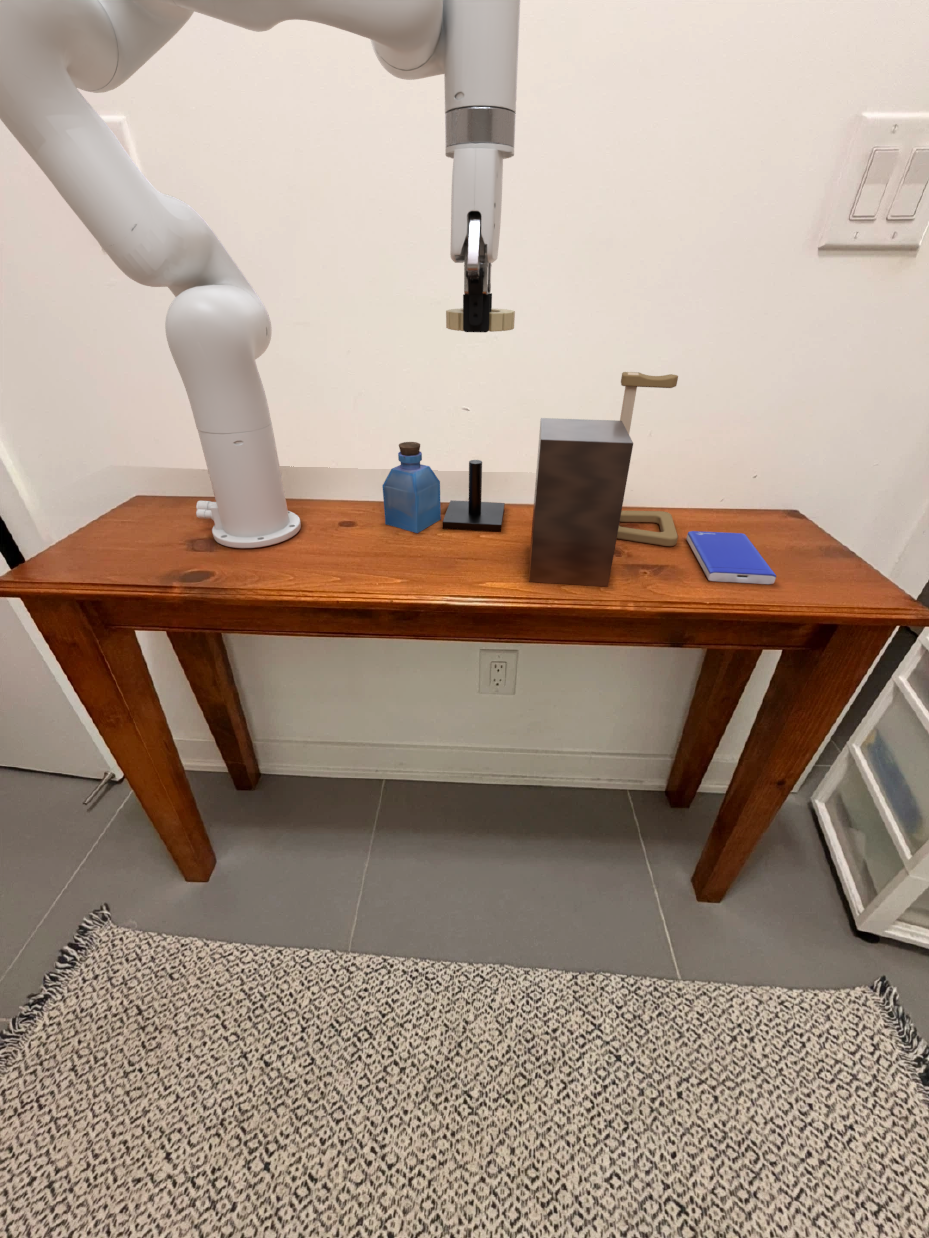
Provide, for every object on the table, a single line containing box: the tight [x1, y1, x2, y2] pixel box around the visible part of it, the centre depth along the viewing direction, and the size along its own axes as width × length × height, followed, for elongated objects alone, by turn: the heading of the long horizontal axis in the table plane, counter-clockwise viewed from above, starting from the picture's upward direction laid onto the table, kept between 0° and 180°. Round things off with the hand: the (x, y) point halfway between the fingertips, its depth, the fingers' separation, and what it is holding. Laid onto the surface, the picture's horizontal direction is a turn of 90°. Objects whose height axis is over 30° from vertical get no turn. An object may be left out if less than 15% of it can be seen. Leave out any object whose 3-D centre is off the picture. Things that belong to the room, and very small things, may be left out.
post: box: [442, 459, 506, 533], centre depth 84 cm, size 9×9×9 cm
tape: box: [445, 307, 516, 333], centre depth 71 cm, size 9×9×2 cm
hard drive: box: [685, 530, 777, 585], centre depth 74 cm, size 2×8×12 cm
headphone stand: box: [617, 371, 679, 547], centre depth 77 cm, size 10×11×22 cm
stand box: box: [528, 417, 634, 588], centre depth 68 cm, size 10×10×18 cm
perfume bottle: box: [381, 441, 442, 534], centre depth 82 cm, size 6×6×12 cm
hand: (477, 329), depth 68 cm, fingers closed on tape, 2 cm apart
